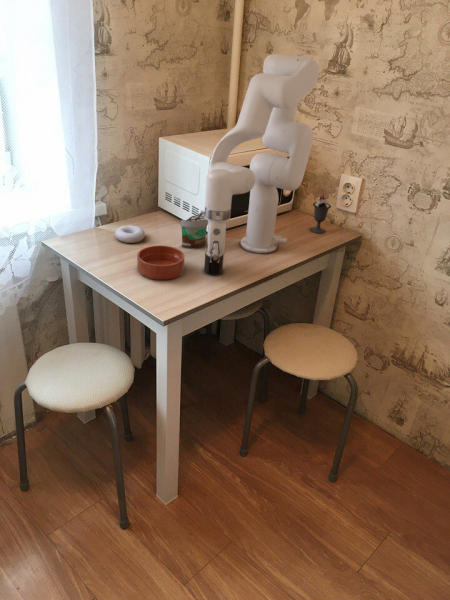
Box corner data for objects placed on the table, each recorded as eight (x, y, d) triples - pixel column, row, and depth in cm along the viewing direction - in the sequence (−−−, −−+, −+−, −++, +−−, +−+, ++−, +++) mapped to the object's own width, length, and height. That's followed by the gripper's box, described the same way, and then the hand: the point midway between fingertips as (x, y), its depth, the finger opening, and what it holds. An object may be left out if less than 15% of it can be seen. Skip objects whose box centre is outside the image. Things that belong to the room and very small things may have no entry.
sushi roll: (221, 267, 161) (223, 249, 158) (222, 276, 156) (224, 257, 153) (204, 266, 161) (205, 248, 157) (204, 275, 156) (205, 256, 153)
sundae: (315, 225, 198) (322, 188, 190) (329, 231, 194) (337, 193, 186) (304, 229, 194) (311, 191, 186) (318, 235, 190) (326, 196, 182)
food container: (194, 253, 168) (196, 224, 163) (179, 248, 171) (180, 219, 166) (215, 241, 178) (217, 214, 173) (200, 236, 180) (202, 209, 175)
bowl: (184, 261, 163) (185, 246, 160) (183, 282, 151) (183, 267, 148) (140, 258, 162) (140, 244, 159) (135, 279, 150) (134, 264, 147)
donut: (112, 243, 170) (142, 245, 170) (111, 234, 168) (142, 236, 168) (118, 232, 179) (147, 233, 179) (118, 222, 177) (147, 224, 177)
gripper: (231, 225, 141) (226, 281, 150) (229, 203, 157) (224, 255, 165) (204, 223, 141) (200, 280, 150) (204, 202, 156) (201, 254, 165)
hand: (213, 267), depth 158 cm, fingers open, 7 cm apart
